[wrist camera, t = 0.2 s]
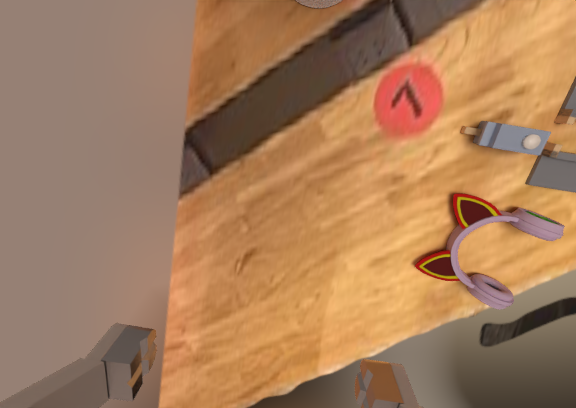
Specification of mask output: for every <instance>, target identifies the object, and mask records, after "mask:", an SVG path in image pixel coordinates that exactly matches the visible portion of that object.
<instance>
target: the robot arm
mask: <svg viewBox="0 0 576 408" xmlns="http://www.w3.org/2000/svg"><path fill="white" fill-rule="evenodd" d="M296 1H297V2H299V3H300V4H302V5H305V6H307V7H311V8H326V7H330V6H333V5H335V4H337V3H339V2H341V1H342V0H296ZM155 338H156V330H154V329H149V328H142V327H137V326H131V325H125V324H119V323H116V324H114V325H113V326H111V328H110V329H109V330H108V331H107V333H106V334H105V335H104V336H103V337H102V339H101V340H100V341H99V342H98V343H97V345H96V346H95V347H94V348H93V349H92V351H91V352H90V353H89V354H88V355H87V357H86V358H85V359H82V358H80V359H78V360H77V361H75V362H73V363H71V364H69V365H67V366H66V367H64V368H62V369H60V370H58V371H56V372H55V373H53V374H51V375H49V376H47V377H45V378H44V379H42V380H40V381H38V382H36V383H34V384H33V385H31V386H29V387H27V388H25V389H24V390H22V391H20V392H18V393H17V394H14V395H13V396H11V397H9V398H7V399H5V400H3V401H2V402H0V408H99V407H101V406H102V405H103V404H104V403H106V402H107V401H108V399H117V400H126V401H133V400H134V398H135V396H136V395H137V393H138V391H139V389H140V387H141V385H142V383H143V381H142V377H143V376H144V375H145V374H147V373H148V372H149V371H150V369H151V367H152V365H153V362H154V360H155V356H156V351H157V349H156V347H157V346H156V344H155V343H154V340H155ZM360 369H361V372H360V373H358V374H357V377H356V380H355V396H356V401H357V403H358V404H359V405H360V407H361V408H423V407H420V406H419V405H418V403H417V400H416V397H415V395H414V392H413V390H412V387H411V384H410V382H409V380H408V377H407V374H406V372H405V369H404V367H403V366H402V364H395V363H387V362H382V361H374V360H366V359H363V360H362V362H361V364H360Z"/></svg>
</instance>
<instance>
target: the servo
mask: <svg viewBox="0 0 576 408" xmlns="http://www.w3.org/2000/svg"><path fill="white" fill-rule="evenodd" d="M461 133H465V134H471V135H475V138H474V140H473V143H476V144H477V145H481V146H487V147H491V148H496V149H502V150H508V151H514V152H520V153H526V154H533V155H540V154H541V152H542V150H543V148H544V146H545V144H546V142H547V140H548V138H549V136H550V134H551V132H548V131H542V130H536V129H530V128H524V127H518V126H512V125H506V124H500V123H494V122H487V121H481V122H480V125H479V127H478V128H472V127H466V126H463V127H462V130H461Z"/></svg>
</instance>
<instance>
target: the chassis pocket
mask: <svg viewBox="0 0 576 408" xmlns="http://www.w3.org/2000/svg"><path fill="white" fill-rule="evenodd" d="M575 120H576V78H575V80H574V82H573V84H572V86H571V88H570V90H569V93H568V95H567V97H566V99H565V101H564V103H563V105H562V107H561V109H560V112H559V114H558V116H557V118H556V120H555V123H561V124H571V125H573V124H574V122H575ZM562 146H563V145H559V144H554V143H548V142H546V144H545V146H544V148H543V150H542V152H541V154H540V155H539V156H538V158H537V160H536V162H535V164H534V166H533V168H532V171H531V173H530V175H529V177H528V179H527V181H526V183H525V184H528V185H533V186H540V187H546V188H552V189H558V190H564V191H570V192H576V154H573V153H567V152H561V151H560V150H561V148H562Z"/></svg>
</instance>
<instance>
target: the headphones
mask: <svg viewBox="0 0 576 408" xmlns="http://www.w3.org/2000/svg"><path fill="white" fill-rule="evenodd" d="M453 207H454V212H455V216H456V218H457V221H458V223H459V225H458V226H457V227H456V228H455V229H454V231H453V232H452V233H451V235H450V237H449V239H448V242H447V249H446V251H440V252H437V253H434V254H432V255H429V256H427V257H425V258H423V259H422V260H421V261H419V262H418V263H417V264H416V265H415V267H416V268H417V269H418V270H420V271H421V272H423V273H425V274H427V275H429V276H431V277H434V278H437V279H441V280H445V281H462V282H463V283H464V284H466V285H467V289H468V291H469V292H470V293H471V294H472V295H473V296H474V297H476V298H477V299H478V300H480V301H481V302H483V303H485V304H487V305H489V306H491V307H493V308H496V309H505V308H506V307H507V306H510V305H512V303H513V302H514V300H513V294H512V293H511V291H510V290H509V289H508V288H507V287H506V286H504V285H503V284H501V283H500V282H498V281H497V280H495V279H493V278H491V277H488V276H485V275H482V274H474V275H473V276H470V277H468V276H467V274H466V273H464V272H463V271H462V270H461V269H460V266H459V263H458V248H459V245H460V243H461V241H462V240H463V239H464V238H465V237H466V236H467V235H468V234H469V233H470V232H472V231H473V230H475V229H477V228H479V227H481V226H483V225H486V224H488V223H493V222H501V221H505V222H510V223H511V224H512V225H513V226H514V227H516V228H518V229H520V230H522V231H524V232H526V233H528V234H530V235H533V236H535V237H538V238H540V239H543V240H548V241H554V240H556V239H557V238H558V239H560V238H561V237H562V236H563V229H564V227H565V226H564V225H562V224H560V223H558V222H556V221H554V220H552V219H550V218H547V217H545V216H542V215H540V214H537V213H535V212H532V211H529V210H526V209H523V208H518V209H517V210H515V211H514V212H512V213H509V212H505V211H498V210H497V208H496V207H495V206H493V205H492V204H491V203H489V202H487V201H485V200H483V199H481V198H478V197H475V196H472V195H468V194H454V197H453Z"/></svg>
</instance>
